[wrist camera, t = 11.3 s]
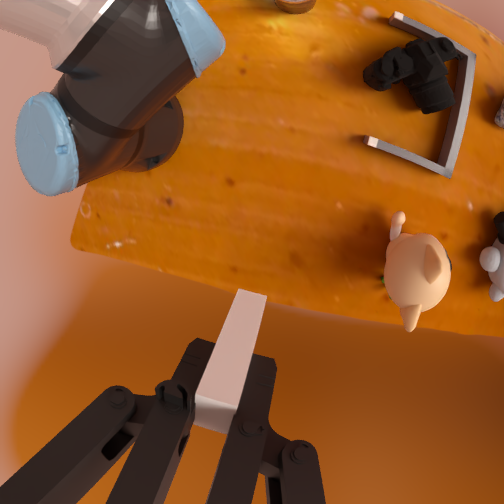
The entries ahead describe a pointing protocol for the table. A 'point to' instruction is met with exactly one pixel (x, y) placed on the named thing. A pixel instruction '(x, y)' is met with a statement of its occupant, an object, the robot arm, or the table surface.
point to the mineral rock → (500, 116)
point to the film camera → (417, 72)
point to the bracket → (457, 110)
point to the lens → (295, 5)
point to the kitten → (415, 271)
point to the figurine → (495, 260)
